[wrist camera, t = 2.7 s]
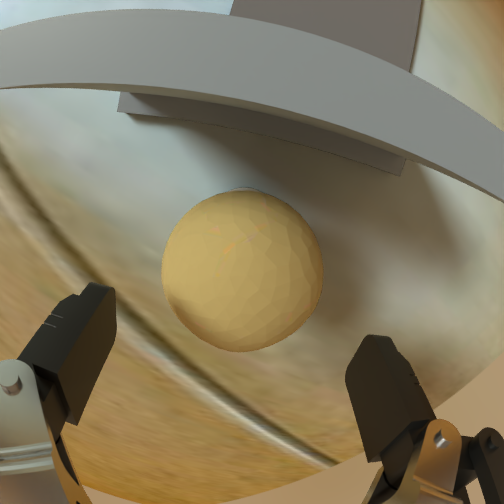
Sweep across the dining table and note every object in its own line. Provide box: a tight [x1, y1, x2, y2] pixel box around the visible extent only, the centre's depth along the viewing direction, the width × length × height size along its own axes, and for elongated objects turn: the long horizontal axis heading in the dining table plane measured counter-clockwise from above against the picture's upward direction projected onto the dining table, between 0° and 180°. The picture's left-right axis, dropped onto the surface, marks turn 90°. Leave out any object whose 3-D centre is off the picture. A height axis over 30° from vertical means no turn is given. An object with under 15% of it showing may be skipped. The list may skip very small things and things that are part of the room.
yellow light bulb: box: [161, 187, 323, 352], centre depth 14 cm, size 6×6×10 cm
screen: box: [0, 9, 504, 203], centre depth 10 cm, size 4×17×12 cm, turn 77°
